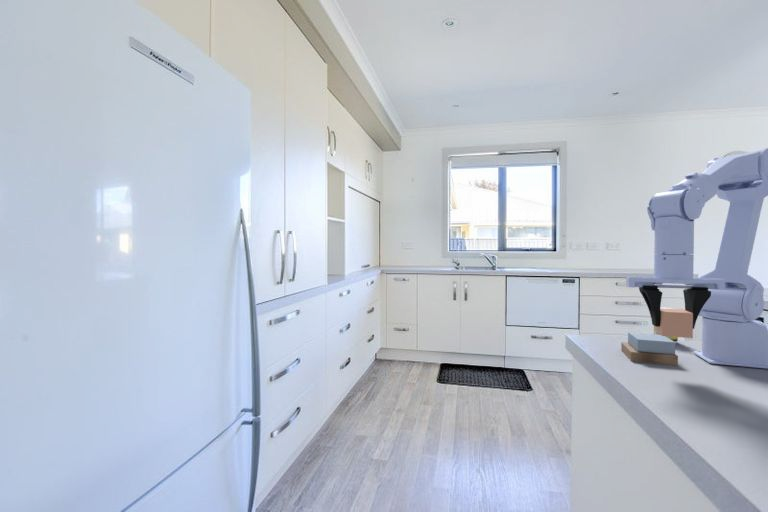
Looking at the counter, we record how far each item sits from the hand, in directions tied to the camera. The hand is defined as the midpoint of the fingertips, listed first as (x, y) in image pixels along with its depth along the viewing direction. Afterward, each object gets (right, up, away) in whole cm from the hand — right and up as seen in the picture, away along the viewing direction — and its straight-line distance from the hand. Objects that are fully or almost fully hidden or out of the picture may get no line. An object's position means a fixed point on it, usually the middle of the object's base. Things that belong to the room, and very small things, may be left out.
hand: (672, 326), depth 67 cm
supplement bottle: (+17, -9, +23) cm, 29 cm away
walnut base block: (+3, -9, +10) cm, 14 cm away
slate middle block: (+3, -7, +10) cm, 12 cm away
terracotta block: (0, -1, 0) cm, 1 cm away
